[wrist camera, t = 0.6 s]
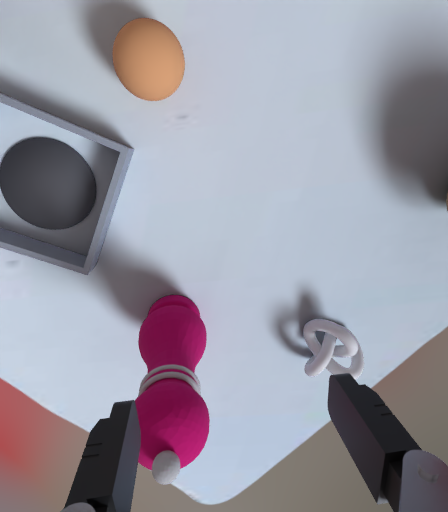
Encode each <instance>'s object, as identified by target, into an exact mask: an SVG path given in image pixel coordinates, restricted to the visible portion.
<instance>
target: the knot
mask: <svg viewBox="0 0 448 512" xmlns="http://www.w3.org/2000/svg"><path fill="white" fill-rule="evenodd" d="M315 331H324V332H326V333H325V336H324V339H323V343H322V346H321V345H320V343H319V342H318V340H317V338H316V336H315ZM303 334H304V338H305V341H306V343H307V345H308V347H309V348H310V350H311V351H312V353H313V354H314V355H313V356H312V357H311V358H310V359H309V360H308V361H307V363H306V365H305V368H304V370H305V373H306V374H307V375H308V376H310V377H315V376H317V375H319V374H320V373H321V372H322V371H323V370H324V369H325V368H326V369H327V370H328V371H329V372H330V373H332V374H333V375H336V374H343V373H350V374H351V375H352V376H353V378H354V379H357V378H359V377H360V375H361V374H362V372H363V369H364V357H363V352H362V349H361V347H360V344H359V342H358V341H357V339H356V337H355V336H354V335H353V334H352V332H351V331H349V330H348V329H347V328H345V327H344V326H341V325H338V324H336V323H334V322H332V321H329V320H324V319H313V320H310V321H309V322H307V323H306V325H305V326H304V330H303ZM337 338H338V339H339V340H340V341H341V342H342V343H343V344H344V345H335V343H336V339H337ZM333 357H351V359H352V362H351V366H350V367H349V368H345V367H343V366H341V365H339V364H338V363H337V362H336V361H335V360H333V359H332V358H333Z"/></svg>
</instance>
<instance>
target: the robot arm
mask: <svg viewBox="0 0 448 512" xmlns="http://www.w3.org/2000/svg"><path fill="white" fill-rule="evenodd" d="M328 411H329V414H330V417H331V420H332V422H333V423H334V425H335V427H336V429H337V431H338V433H339V435H340V436H341V438H342V440H343V442H344V444H345V445H346V448H347V449H348V451H349V453H350V455H351V457H352V459H353V460H354V462H355V464H356V466H357V468H358V470H359V472H360V473H361V475H362V477H363V479H364V481H365V482H366V484H367V486H368V488H369V490H370V492H371V494H372V495H373V497H374V499H375V501H376V503H377V504H381V503H387V502H389V504H390V506H391V507H392V509H393V511H394V512H448V466H447V465H446V464H445V463H444V462H443V461H442V460H441V459H440V458H438V457H436V456H435V455H433V454H431V453H429V452H426V451H422V449H421V448H420V447H419V446H418V445H417V443H416V442H415V441H414V439H413V438H412V437H411V436H410V434H409V433H408V432H407V431H406V429H405V428H404V427H403V426H402V424H401V423H400V422H399V420H398V419H397V418H396V417H395V415H393V414H392V412H391V411H390V409H389V408H388V407H387V406H386V405H385V403H384V402H383V400H382V399H381V398H380V396H379V395H378V394H377V393H376V392H374V391H373V390H372V389H370V388H369V387H368V386H366V385H365V384H364V385H358V383H357V382H356V380H355V379H354V378H353V376H352V375H351V374H350V373H343V374H336V375H331V376H330V378H329V392H328ZM140 445H141V431H140V425H139V420H138V414H137V409H136V404H135V401H134V400H131V401H123V402H115V403H114V405H113V407H112V411H111V414H110V418H105V419H100V420H99V421H98V422H97V424H96V425H95V426H94V428H93V429H92V430H91V432H90V435H89V438H88V440H87V443H86V448H85V449H84V452H83V455H82V459H81V461H80V464H79V467H78V470H77V472H76V475H75V478H74V481H73V484H72V487H71V490H70V493H69V496H68V499H67V502H66V504H65V507H64V509H63V510H62V511H60V512H130V510H131V504H132V498H133V490H134V485H135V478H136V472H137V465H138V459H139V452H140Z"/></svg>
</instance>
